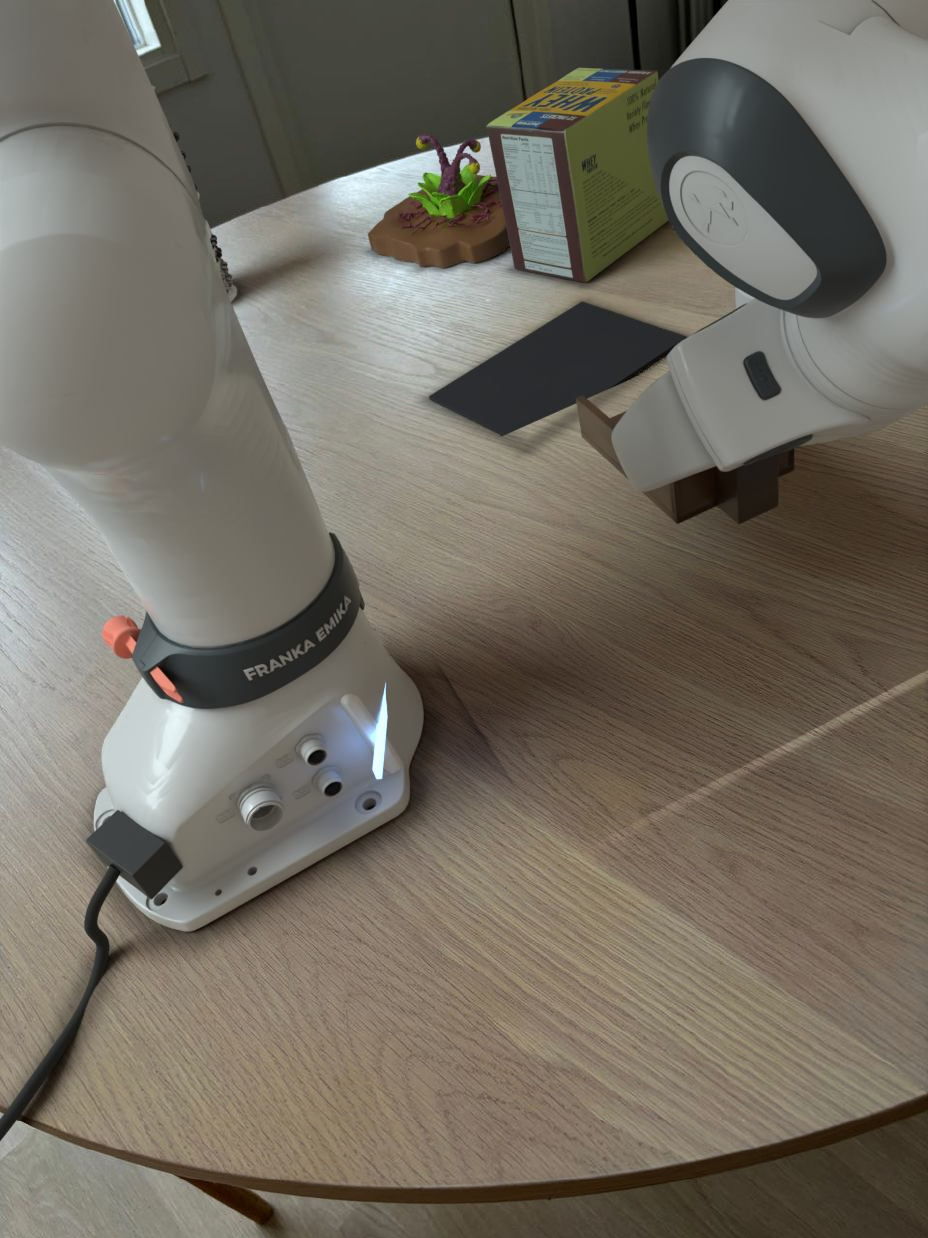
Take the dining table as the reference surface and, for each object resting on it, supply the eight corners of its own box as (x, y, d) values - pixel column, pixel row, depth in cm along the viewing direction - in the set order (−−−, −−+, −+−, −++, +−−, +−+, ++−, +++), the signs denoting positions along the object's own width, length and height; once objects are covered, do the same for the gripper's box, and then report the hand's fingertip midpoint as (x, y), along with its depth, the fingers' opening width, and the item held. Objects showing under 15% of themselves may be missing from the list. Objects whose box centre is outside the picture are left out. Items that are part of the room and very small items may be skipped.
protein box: (671, 219, 112) (660, 68, 101) (586, 284, 105) (564, 130, 95) (596, 208, 118) (578, 65, 108) (511, 269, 111) (482, 123, 101)
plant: (444, 188, 133) (423, 98, 126) (570, 195, 122) (556, 98, 115) (348, 260, 123) (319, 167, 115) (476, 275, 112) (454, 173, 105)
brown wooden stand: (818, 487, 65) (823, 333, 58) (698, 543, 64) (687, 392, 56) (686, 391, 76) (676, 251, 69) (581, 437, 75) (560, 299, 68)
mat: (526, 448, 86) (525, 444, 86) (429, 399, 95) (428, 396, 95) (687, 340, 93) (687, 336, 93) (582, 304, 102) (582, 300, 102)
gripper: (1003, 203, 50) (858, 315, 64) (643, 357, 47) (572, 440, 60) (1060, 317, 50) (902, 405, 63) (702, 480, 46) (617, 536, 60)
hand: (739, 423), depth 62 cm, fingers closed on brown wooden stand, 3 cm apart
